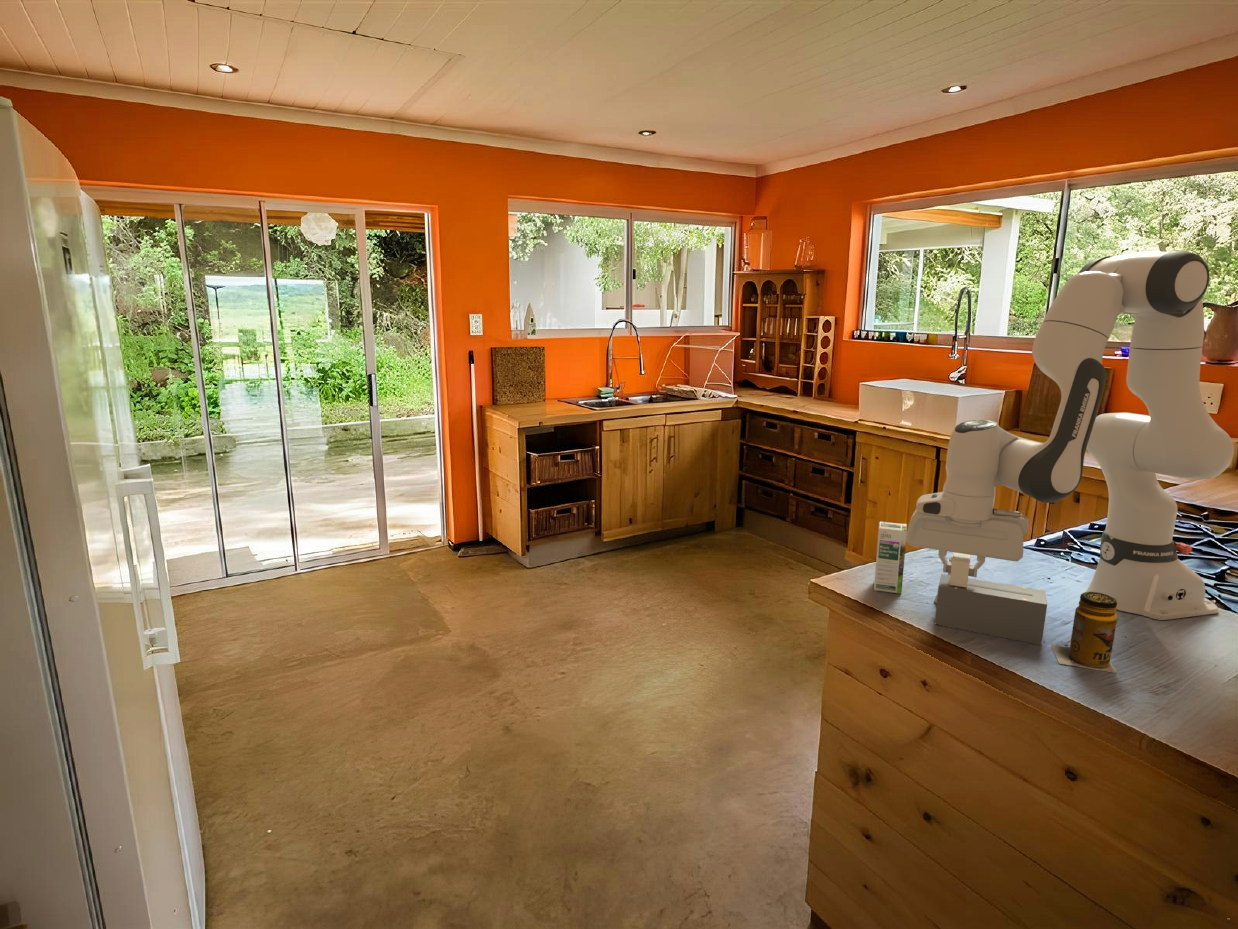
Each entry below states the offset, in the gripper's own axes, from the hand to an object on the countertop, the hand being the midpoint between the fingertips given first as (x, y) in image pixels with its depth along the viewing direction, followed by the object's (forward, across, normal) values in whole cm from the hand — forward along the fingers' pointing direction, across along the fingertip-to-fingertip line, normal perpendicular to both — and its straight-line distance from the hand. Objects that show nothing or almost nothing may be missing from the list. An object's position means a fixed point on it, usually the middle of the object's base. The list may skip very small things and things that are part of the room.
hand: (959, 573), depth 134 cm
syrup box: (+10, +14, -11) cm, 21 cm away
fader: (+2, 0, 0) cm, 2 cm away
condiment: (+10, -21, +6) cm, 24 cm away
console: (+10, -6, 0) cm, 11 cm away
